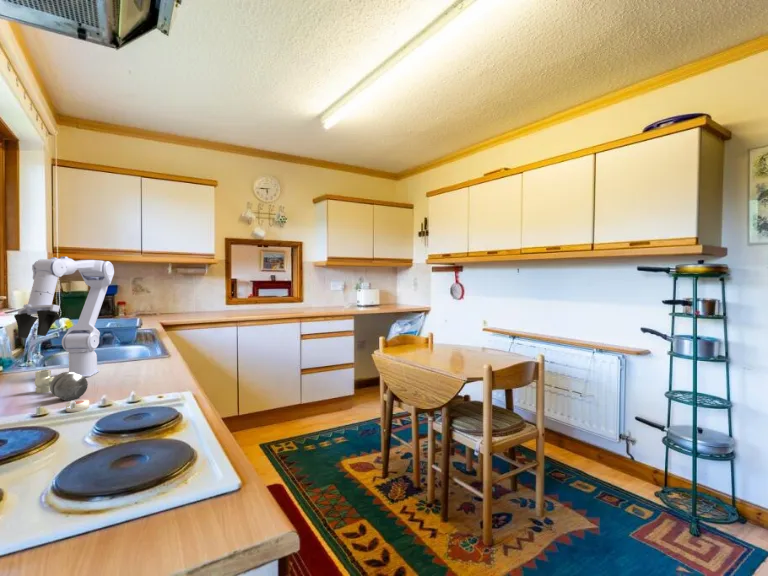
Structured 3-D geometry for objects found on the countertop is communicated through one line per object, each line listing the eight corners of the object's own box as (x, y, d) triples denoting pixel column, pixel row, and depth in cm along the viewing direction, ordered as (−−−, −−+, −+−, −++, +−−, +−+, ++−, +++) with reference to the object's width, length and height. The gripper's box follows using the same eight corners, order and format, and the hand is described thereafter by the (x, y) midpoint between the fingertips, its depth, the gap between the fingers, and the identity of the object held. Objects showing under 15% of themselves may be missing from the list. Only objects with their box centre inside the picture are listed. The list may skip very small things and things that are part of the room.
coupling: (50, 400, 116) (49, 374, 116) (81, 394, 123) (80, 369, 122) (56, 403, 113) (55, 376, 113) (87, 397, 120) (87, 371, 120)
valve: (27, 394, 123) (59, 396, 121) (26, 373, 123) (58, 374, 121) (48, 388, 130) (79, 390, 127) (48, 368, 130) (79, 369, 127)
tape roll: (71, 407, 111) (71, 400, 110) (92, 405, 112) (92, 398, 112) (62, 412, 106) (62, 405, 106) (84, 411, 107) (84, 404, 107)
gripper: (11, 293, 126) (0, 335, 122) (46, 288, 123) (36, 331, 119) (35, 299, 133) (25, 340, 128) (69, 294, 129) (60, 336, 125)
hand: (32, 336), depth 124 cm, fingers open, 7 cm apart
